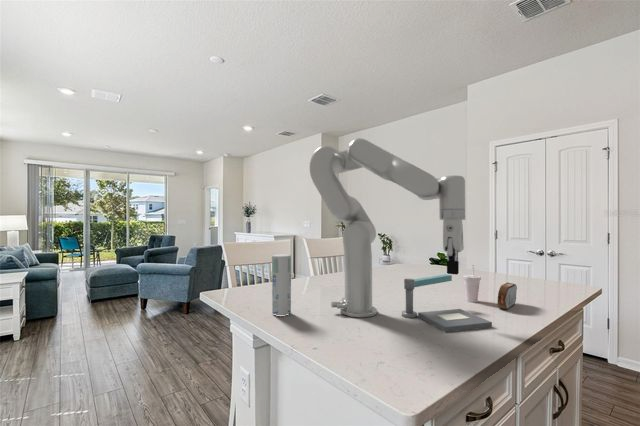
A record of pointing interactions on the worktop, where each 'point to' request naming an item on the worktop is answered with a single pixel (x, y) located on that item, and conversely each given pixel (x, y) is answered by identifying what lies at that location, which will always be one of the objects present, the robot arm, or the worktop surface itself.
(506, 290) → the tin
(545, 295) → the worktop surface
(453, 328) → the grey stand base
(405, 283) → the swing bar
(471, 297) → the smoothie
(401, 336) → the worktop surface
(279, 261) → the spray can
